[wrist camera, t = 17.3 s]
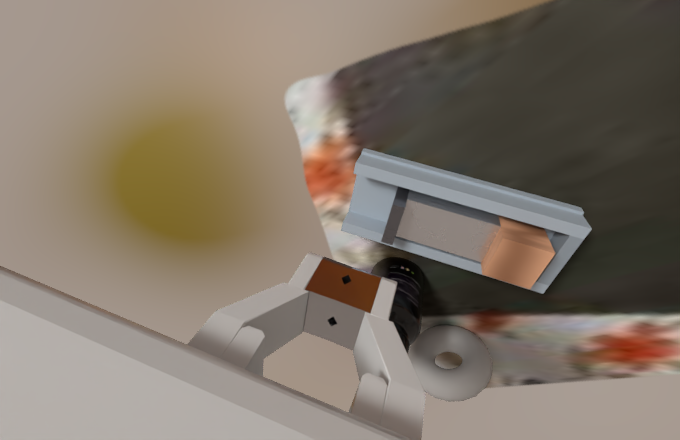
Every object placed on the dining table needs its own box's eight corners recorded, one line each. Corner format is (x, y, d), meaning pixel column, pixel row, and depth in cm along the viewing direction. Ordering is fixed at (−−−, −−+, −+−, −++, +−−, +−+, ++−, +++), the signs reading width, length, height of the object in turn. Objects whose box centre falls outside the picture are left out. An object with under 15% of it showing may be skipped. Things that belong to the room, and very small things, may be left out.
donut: (413, 336, 47) (405, 402, 39) (409, 318, 46) (400, 384, 37) (489, 339, 43) (498, 413, 35) (487, 320, 42) (496, 393, 34)
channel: (580, 207, 32) (593, 226, 29) (534, 274, 37) (541, 295, 34) (364, 148, 35) (356, 159, 32) (348, 217, 40) (340, 232, 37)
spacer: (542, 224, 33) (555, 253, 28) (520, 257, 35) (530, 289, 31) (496, 211, 33) (503, 238, 29) (478, 245, 36) (482, 274, 32)
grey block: (497, 211, 33) (503, 237, 29) (479, 245, 35) (482, 273, 32) (399, 183, 34) (392, 204, 30) (388, 218, 37) (381, 241, 33)
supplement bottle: (410, 303, 44) (399, 385, 34) (364, 282, 44) (340, 356, 35) (435, 269, 40) (430, 350, 30) (384, 246, 40) (363, 318, 31)
